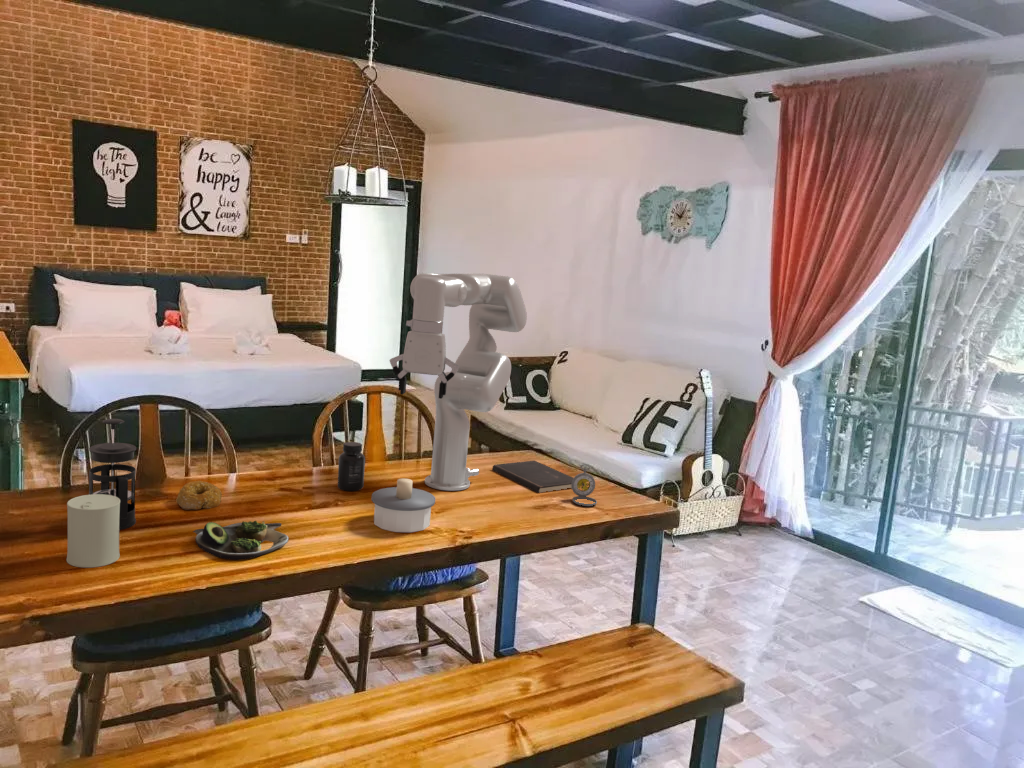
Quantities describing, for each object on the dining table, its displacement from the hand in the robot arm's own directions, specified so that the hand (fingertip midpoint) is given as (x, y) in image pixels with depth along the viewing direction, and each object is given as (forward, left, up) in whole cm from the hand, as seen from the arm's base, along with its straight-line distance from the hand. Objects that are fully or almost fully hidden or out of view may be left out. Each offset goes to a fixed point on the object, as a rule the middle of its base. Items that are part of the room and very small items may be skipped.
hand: (421, 395), depth 203 cm
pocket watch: (-44, +18, -28) cm, 55 cm away
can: (+75, +1, -28) cm, 80 cm away
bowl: (+10, +10, -28) cm, 32 cm away
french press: (+67, -16, -28) cm, 75 cm away
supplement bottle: (+8, -18, -28) cm, 35 cm away
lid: (+10, +10, -23) cm, 27 cm away
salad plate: (+48, +6, -29) cm, 56 cm away
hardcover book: (-46, -4, -29) cm, 55 cm away
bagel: (+47, -21, -29) cm, 59 cm away
